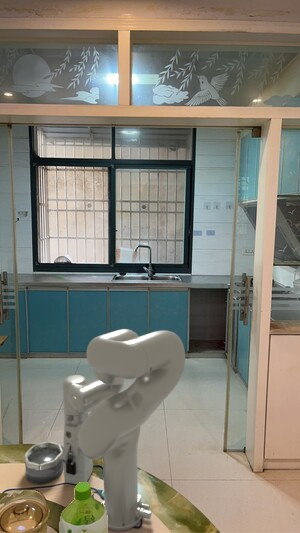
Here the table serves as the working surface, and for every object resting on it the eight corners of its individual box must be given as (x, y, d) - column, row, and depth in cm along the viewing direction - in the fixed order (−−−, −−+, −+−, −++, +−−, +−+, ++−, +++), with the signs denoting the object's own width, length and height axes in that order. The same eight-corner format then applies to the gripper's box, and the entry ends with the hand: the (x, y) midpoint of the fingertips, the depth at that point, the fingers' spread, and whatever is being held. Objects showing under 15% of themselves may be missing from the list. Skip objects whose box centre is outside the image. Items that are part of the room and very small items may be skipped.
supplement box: (93, 469, 122) (92, 435, 120) (85, 485, 115) (83, 449, 113) (72, 467, 123) (71, 432, 121) (63, 482, 116) (61, 446, 114)
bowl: (70, 463, 125) (69, 445, 124) (49, 488, 114) (48, 468, 113) (40, 456, 129) (39, 438, 128) (18, 479, 118) (16, 460, 117)
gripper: (72, 432, 106) (74, 486, 109) (99, 403, 123) (100, 450, 125) (50, 427, 109) (52, 480, 111) (79, 399, 125) (81, 446, 128)
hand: (78, 464), depth 118 cm, fingers closed on supplement box, 8 cm apart
